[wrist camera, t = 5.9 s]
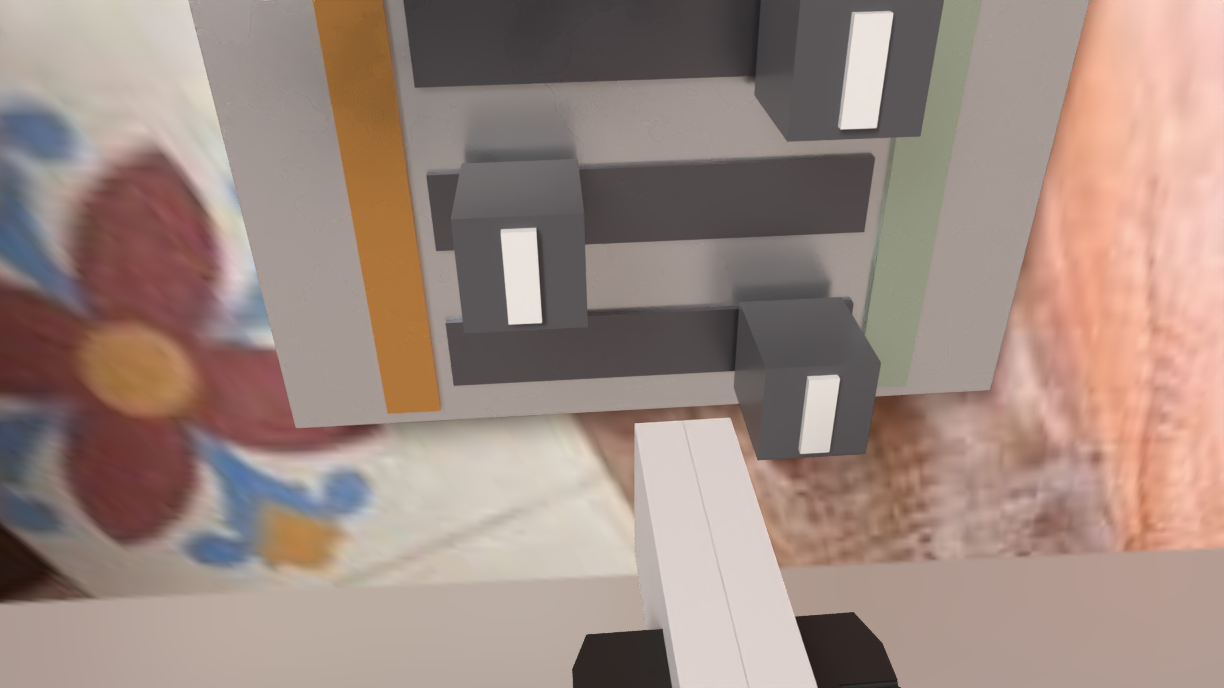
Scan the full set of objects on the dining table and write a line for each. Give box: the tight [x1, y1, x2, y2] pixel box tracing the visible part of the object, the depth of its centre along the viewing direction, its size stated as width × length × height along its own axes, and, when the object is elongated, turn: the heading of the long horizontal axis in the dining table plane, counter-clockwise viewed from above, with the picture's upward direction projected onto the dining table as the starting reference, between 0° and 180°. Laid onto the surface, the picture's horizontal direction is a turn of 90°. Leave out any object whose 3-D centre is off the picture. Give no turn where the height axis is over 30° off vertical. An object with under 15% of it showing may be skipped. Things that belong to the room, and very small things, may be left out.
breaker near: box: [754, 0, 944, 142], centre depth 20 cm, size 3×3×4 cm
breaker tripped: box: [451, 159, 588, 333], centre depth 22 cm, size 3×3×4 cm
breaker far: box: [734, 297, 881, 460], centre depth 25 cm, size 3×3×4 cm
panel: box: [188, 0, 1089, 428], centre depth 25 cm, size 22×14×2 cm, turn 91°
